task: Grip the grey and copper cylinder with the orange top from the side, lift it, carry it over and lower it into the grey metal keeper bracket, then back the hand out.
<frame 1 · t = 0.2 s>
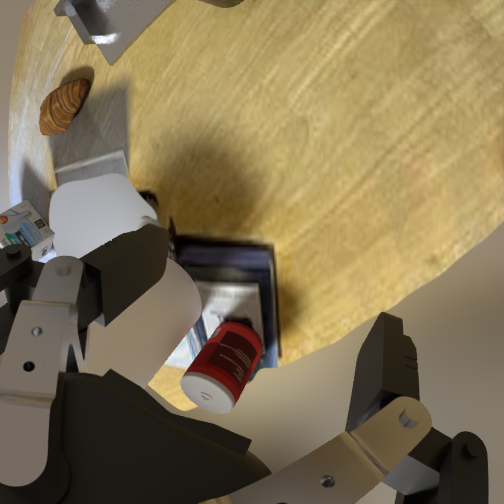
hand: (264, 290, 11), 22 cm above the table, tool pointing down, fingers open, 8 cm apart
light bulb box: (39, 224, 55), on the table
canned food: (240, 339, 47), on the table
croissant: (69, 107, 38), on the table
canister: (163, 290, 48), on the table
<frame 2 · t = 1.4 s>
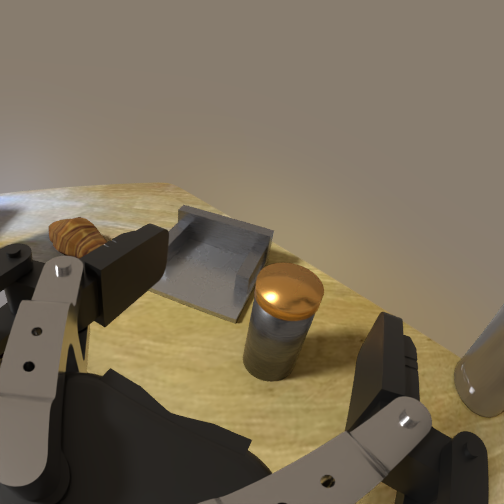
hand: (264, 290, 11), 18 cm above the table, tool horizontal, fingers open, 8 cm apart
croissant: (79, 252, 40), on the table
keeper bracket: (206, 269, 40), on the table
grey and copper cylinder: (268, 359, 30), on the table
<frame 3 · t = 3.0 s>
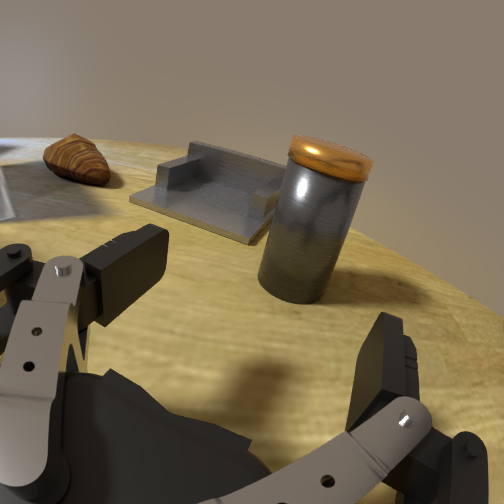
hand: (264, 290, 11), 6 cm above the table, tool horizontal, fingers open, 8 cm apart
croissant: (71, 175, 34), on the table
keeper bracket: (214, 201, 34), on the table
grey and copper cylinder: (291, 282, 24), on the table
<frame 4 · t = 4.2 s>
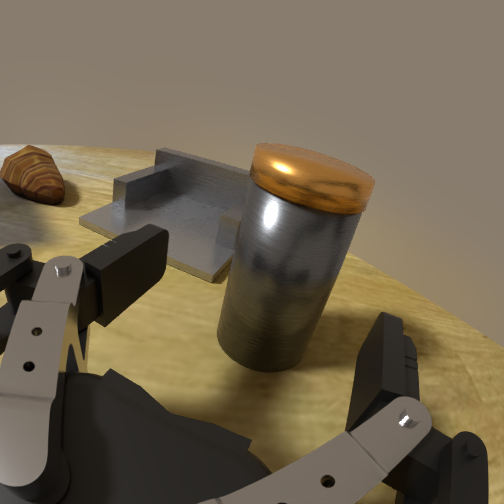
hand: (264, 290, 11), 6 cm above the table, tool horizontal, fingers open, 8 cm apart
croissant: (29, 191, 28), on the table
keeper bracket: (181, 221, 28), on the table
grey and copper cylinder: (261, 337, 18), on the table
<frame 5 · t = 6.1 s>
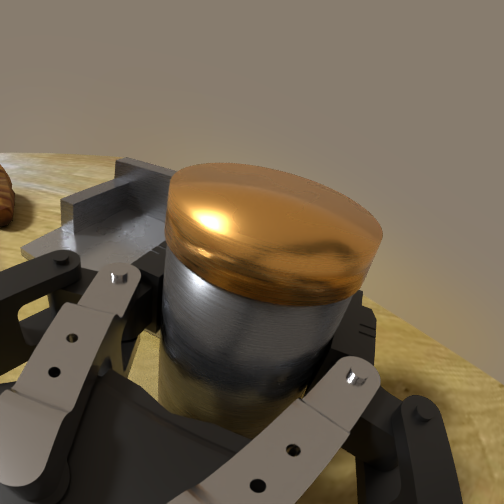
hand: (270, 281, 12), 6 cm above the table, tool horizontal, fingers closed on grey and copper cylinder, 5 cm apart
keeper bracket: (139, 249, 23), on the table
grey and copper cylinder: (217, 422, 12), on the table, touching gripper
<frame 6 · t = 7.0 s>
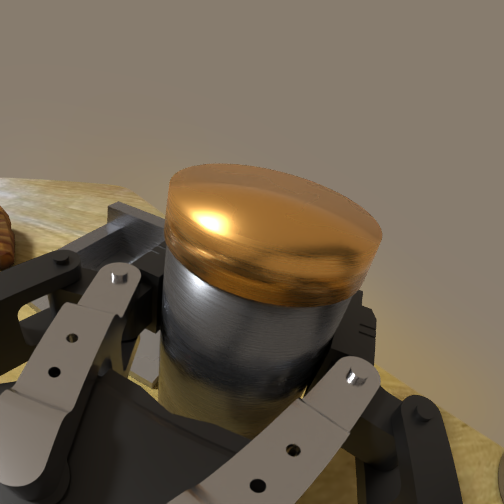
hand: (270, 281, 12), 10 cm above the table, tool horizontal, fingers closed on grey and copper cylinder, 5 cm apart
keeper bracket: (131, 296, 25), on the table
grey and copper cylinder: (217, 422, 12), point 4 cm above the table, touching gripper
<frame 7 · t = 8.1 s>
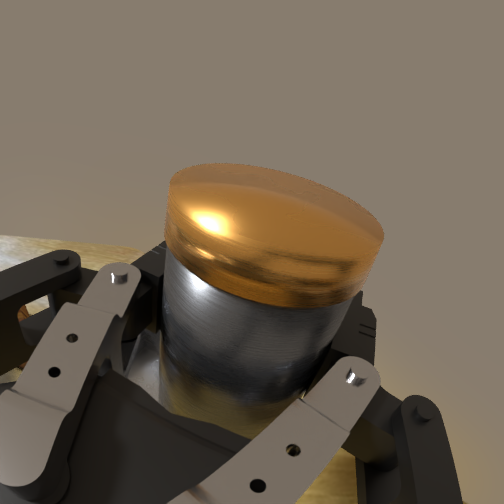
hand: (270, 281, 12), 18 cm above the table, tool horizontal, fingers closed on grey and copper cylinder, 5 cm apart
keeper bracket: (162, 401, 25), on the table
grey and copper cylinder: (217, 423, 12), point 12 cm above the table, touching gripper
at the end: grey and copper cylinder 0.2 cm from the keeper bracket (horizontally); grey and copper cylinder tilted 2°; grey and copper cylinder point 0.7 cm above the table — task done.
